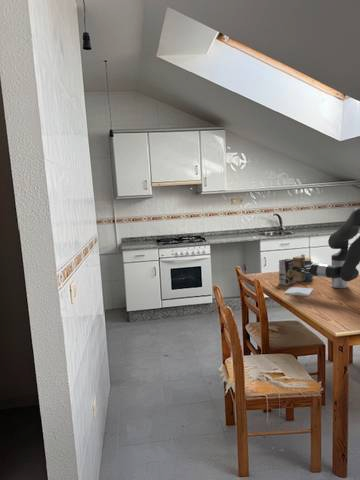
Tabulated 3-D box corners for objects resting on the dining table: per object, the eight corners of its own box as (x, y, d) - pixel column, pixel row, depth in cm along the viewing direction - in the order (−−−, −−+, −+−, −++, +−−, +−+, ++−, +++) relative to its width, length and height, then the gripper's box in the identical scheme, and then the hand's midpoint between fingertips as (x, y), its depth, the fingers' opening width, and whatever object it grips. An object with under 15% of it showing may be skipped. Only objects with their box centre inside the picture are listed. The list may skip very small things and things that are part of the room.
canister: (316, 278, 259) (316, 253, 257) (308, 282, 249) (307, 256, 247) (298, 276, 268) (298, 252, 266) (289, 280, 258) (289, 255, 256)
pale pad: (290, 288, 236) (290, 286, 236) (313, 290, 229) (313, 288, 229) (284, 294, 224) (284, 292, 224) (308, 296, 217) (308, 294, 217)
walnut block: (297, 278, 229) (297, 256, 228) (305, 279, 225) (304, 257, 224) (293, 280, 226) (292, 257, 225) (300, 281, 222) (300, 258, 221)
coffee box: (286, 285, 244) (286, 261, 242) (278, 283, 249) (278, 260, 248) (295, 283, 249) (295, 259, 247) (288, 281, 254) (287, 258, 252)
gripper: (327, 262, 218) (301, 259, 231) (314, 266, 209) (288, 263, 222) (327, 274, 219) (301, 271, 232) (314, 279, 210) (288, 275, 223)
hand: (295, 267), depth 227 cm, fingers closed on walnut block, 5 cm apart
